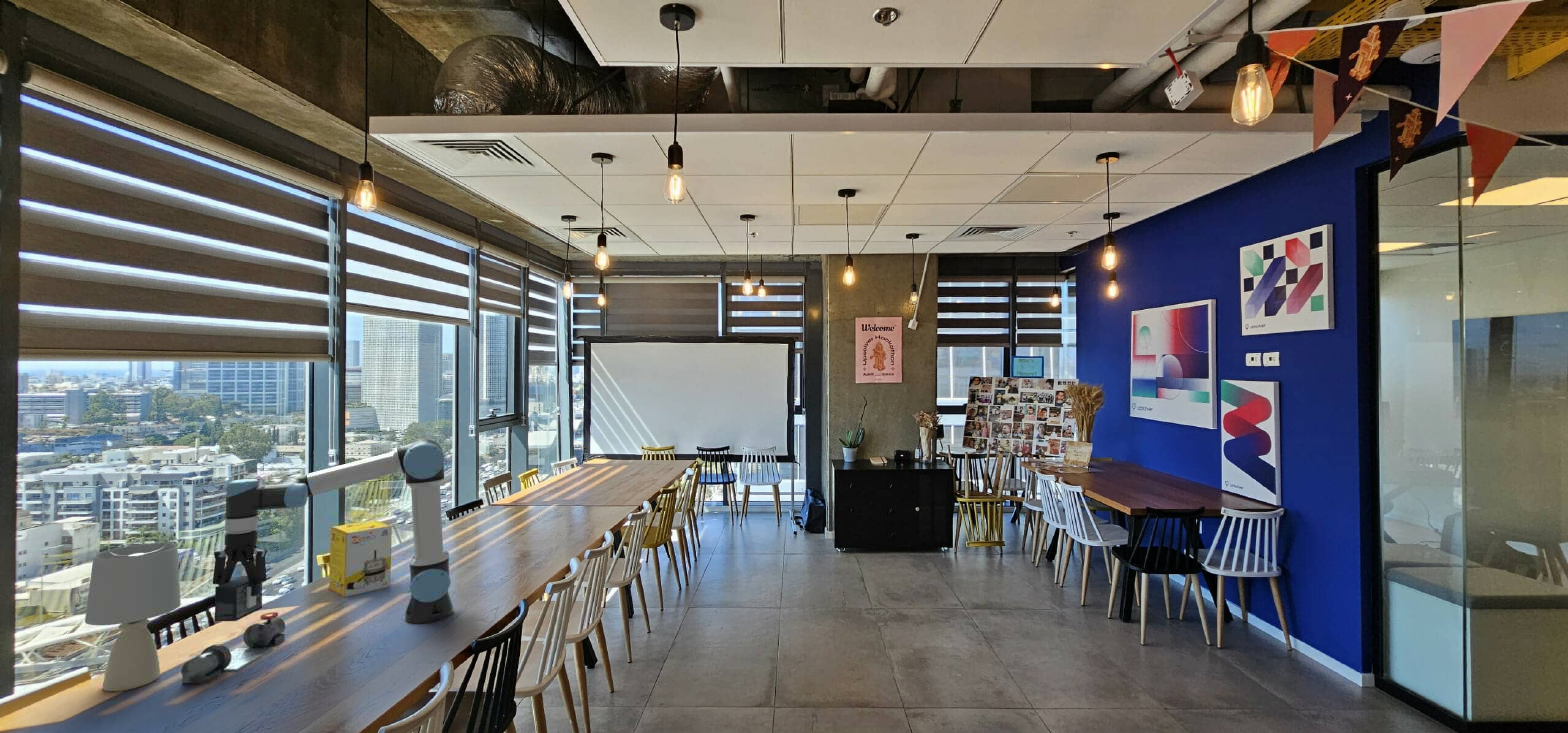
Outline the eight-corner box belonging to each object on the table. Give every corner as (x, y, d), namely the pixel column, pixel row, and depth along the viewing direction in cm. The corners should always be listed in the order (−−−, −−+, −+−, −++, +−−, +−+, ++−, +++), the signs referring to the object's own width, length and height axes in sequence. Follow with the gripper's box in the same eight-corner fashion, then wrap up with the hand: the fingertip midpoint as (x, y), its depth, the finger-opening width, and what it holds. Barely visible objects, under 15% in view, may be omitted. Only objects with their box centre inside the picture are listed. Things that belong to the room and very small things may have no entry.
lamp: (135, 666, 184) (140, 541, 184) (196, 668, 183) (200, 542, 184) (60, 698, 165) (65, 559, 166) (127, 700, 164) (132, 560, 165)
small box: (240, 608, 193) (242, 575, 194) (263, 608, 194) (264, 574, 194) (212, 622, 183) (213, 586, 183) (236, 621, 183) (237, 586, 184)
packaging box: (373, 578, 265) (375, 520, 266) (390, 586, 256) (391, 525, 256) (328, 588, 252) (330, 527, 253) (344, 597, 242) (346, 533, 243)
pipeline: (257, 639, 203) (258, 611, 203) (292, 638, 204) (293, 611, 204) (171, 685, 172) (172, 653, 173) (213, 685, 173) (214, 652, 173)
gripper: (283, 527, 193) (281, 602, 193) (218, 527, 192) (215, 602, 192) (265, 533, 186) (262, 611, 186) (197, 534, 185) (194, 611, 184)
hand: (238, 606), depth 189 cm, fingers closed on small box, 6 cm apart
